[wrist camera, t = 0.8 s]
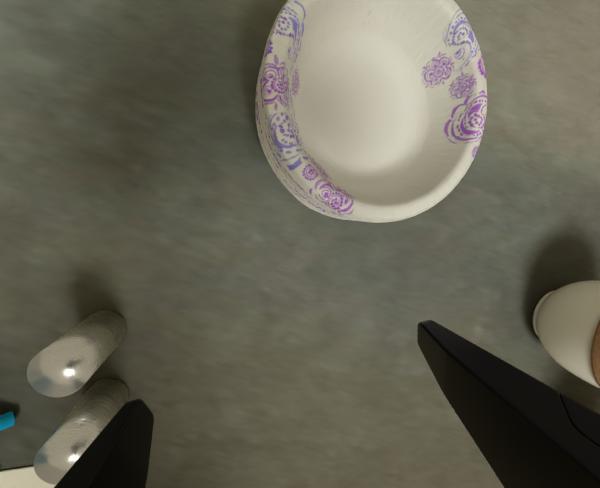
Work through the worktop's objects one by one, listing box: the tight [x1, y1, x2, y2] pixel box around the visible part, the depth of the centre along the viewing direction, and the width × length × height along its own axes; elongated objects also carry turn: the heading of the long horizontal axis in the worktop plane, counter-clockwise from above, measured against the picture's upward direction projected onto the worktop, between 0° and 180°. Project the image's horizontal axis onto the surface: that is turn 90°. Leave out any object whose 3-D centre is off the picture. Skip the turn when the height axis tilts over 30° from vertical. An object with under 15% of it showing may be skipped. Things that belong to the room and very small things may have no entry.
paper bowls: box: [255, 0, 487, 223], centre depth 20 cm, size 15×15×8 cm
